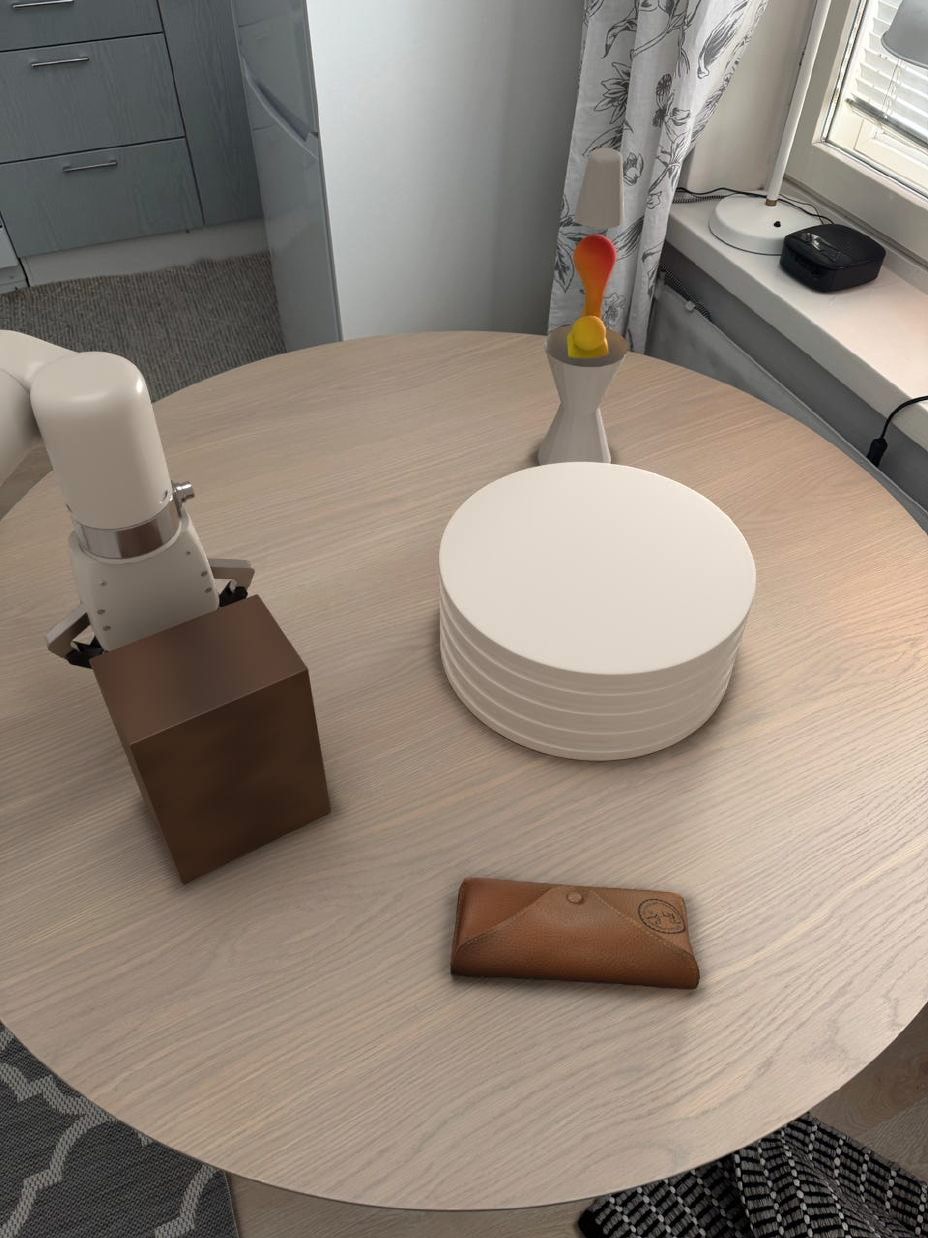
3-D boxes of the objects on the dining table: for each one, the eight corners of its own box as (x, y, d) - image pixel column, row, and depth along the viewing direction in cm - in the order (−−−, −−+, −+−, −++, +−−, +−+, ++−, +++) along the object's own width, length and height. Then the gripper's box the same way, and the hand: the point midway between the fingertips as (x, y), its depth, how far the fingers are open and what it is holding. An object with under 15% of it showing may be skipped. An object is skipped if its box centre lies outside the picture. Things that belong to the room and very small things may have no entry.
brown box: (182, 885, 78) (129, 745, 66) (141, 796, 84) (84, 652, 71) (331, 812, 83) (308, 668, 70) (282, 732, 89) (253, 586, 76)
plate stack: (764, 754, 88) (796, 667, 79) (446, 767, 86) (445, 680, 78) (695, 544, 107) (715, 457, 99) (435, 552, 106) (433, 465, 98)
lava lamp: (535, 434, 121) (556, 133, 96) (610, 436, 121) (650, 135, 96) (536, 480, 115) (559, 170, 90) (615, 482, 115) (659, 172, 90)
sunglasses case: (685, 887, 78) (703, 889, 71) (686, 982, 76) (704, 993, 70) (455, 876, 78) (452, 877, 72) (451, 970, 77) (447, 980, 70)
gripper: (217, 455, 80) (248, 607, 92) (-5, 527, 73) (60, 680, 85) (254, 506, 75) (282, 658, 87) (21, 587, 69) (86, 740, 81)
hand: (172, 669), depth 86 cm, fingers open, 9 cm apart
